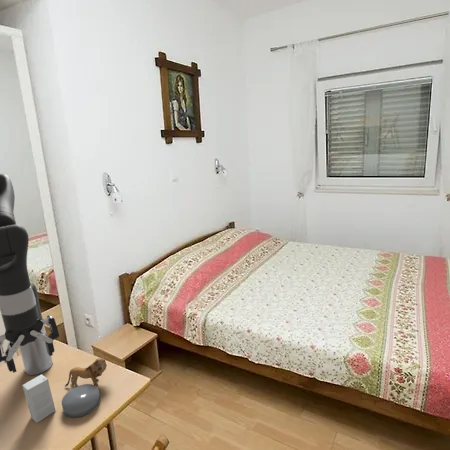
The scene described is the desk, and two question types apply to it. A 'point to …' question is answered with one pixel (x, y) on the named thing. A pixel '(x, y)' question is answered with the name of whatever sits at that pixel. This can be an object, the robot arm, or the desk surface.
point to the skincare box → (39, 398)
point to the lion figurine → (88, 372)
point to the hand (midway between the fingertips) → (32, 362)
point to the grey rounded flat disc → (80, 400)
